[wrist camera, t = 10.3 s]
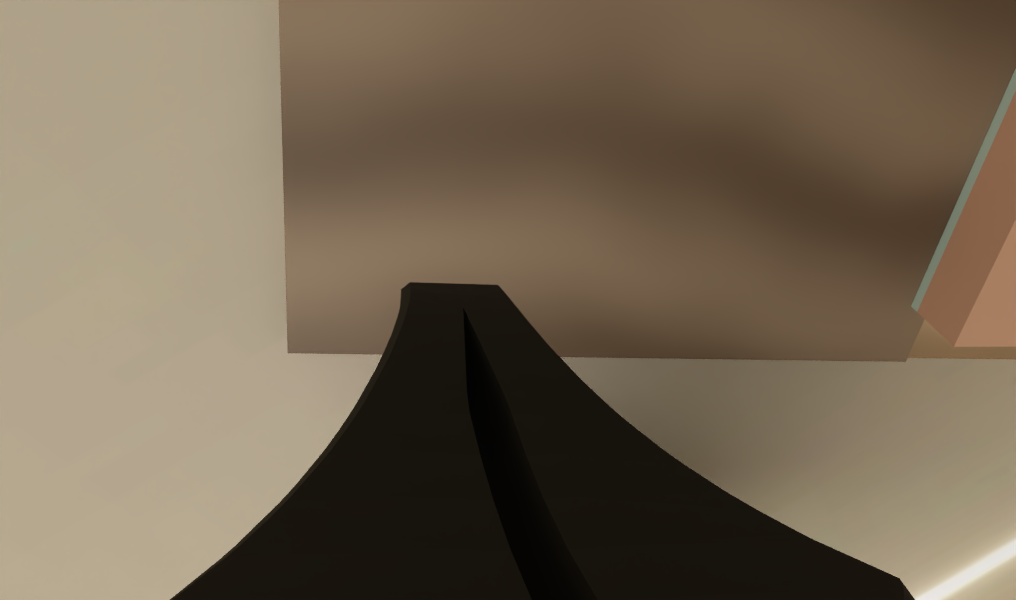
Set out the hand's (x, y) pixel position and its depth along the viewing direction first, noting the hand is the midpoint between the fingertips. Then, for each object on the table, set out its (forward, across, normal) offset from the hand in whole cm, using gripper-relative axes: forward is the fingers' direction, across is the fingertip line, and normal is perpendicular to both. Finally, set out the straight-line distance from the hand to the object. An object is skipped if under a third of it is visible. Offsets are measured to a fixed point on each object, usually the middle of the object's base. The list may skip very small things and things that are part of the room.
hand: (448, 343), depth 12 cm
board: (+10, -10, +1) cm, 14 cm away
